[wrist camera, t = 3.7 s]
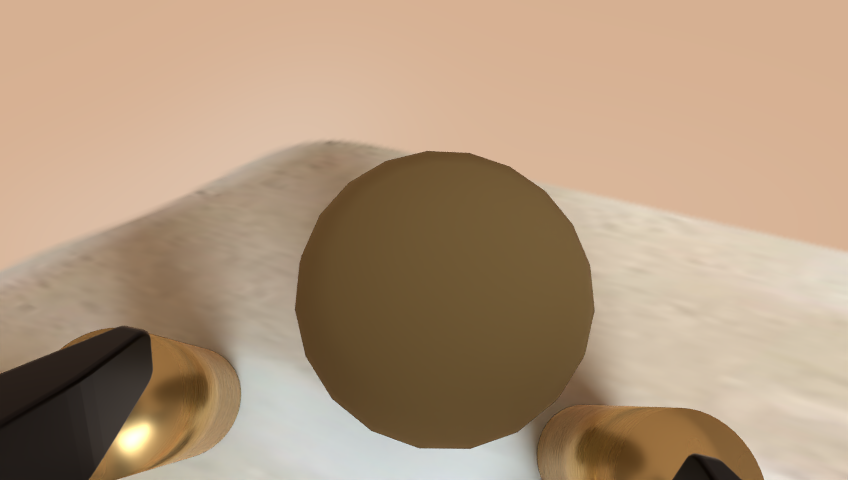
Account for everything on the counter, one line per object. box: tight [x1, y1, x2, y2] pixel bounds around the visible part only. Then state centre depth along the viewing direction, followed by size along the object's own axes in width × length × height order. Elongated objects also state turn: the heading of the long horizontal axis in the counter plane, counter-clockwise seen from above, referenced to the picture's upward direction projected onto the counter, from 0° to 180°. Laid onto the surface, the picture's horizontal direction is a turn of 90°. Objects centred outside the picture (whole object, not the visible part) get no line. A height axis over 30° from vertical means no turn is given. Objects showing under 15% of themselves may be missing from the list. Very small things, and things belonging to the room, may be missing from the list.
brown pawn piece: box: [295, 151, 594, 449], centre depth 12 cm, size 6×6×11 cm
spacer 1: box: [60, 328, 241, 480], centre depth 14 cm, size 4×4×5 cm
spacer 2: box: [537, 405, 764, 480], centre depth 14 cm, size 4×4×6 cm
